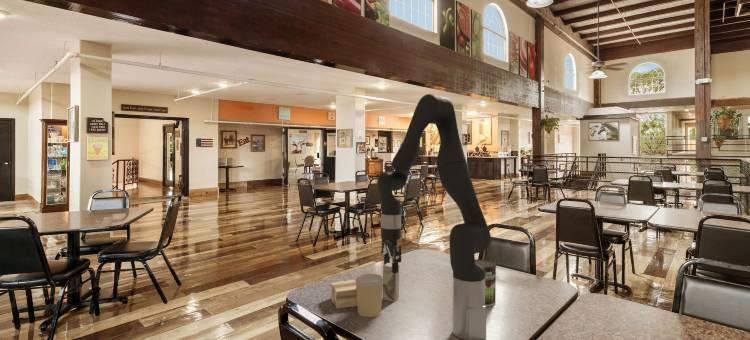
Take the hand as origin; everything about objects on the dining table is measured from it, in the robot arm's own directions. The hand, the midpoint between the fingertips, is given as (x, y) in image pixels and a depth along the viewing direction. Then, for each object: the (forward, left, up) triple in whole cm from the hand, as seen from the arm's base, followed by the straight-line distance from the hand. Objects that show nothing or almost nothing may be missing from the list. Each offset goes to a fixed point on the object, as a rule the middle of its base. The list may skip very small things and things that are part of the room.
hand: (390, 269), depth 140 cm
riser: (+3, +16, -11) cm, 20 cm away
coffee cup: (-9, +11, -11) cm, 18 cm away
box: (0, 0, -11) cm, 11 cm away
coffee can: (-13, -30, -11) cm, 35 cm away
